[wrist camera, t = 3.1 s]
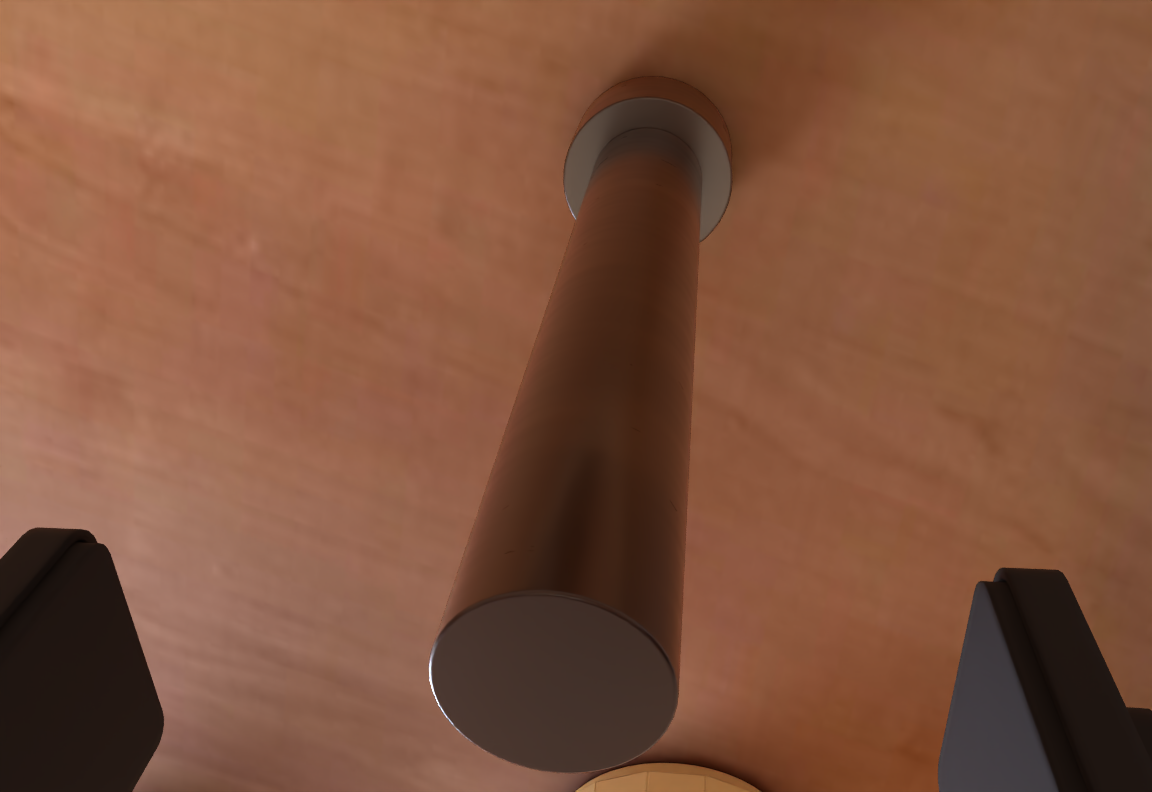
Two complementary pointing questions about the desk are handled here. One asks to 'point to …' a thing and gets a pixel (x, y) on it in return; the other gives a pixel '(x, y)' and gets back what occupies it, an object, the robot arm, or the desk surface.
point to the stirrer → (595, 459)
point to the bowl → (666, 780)
